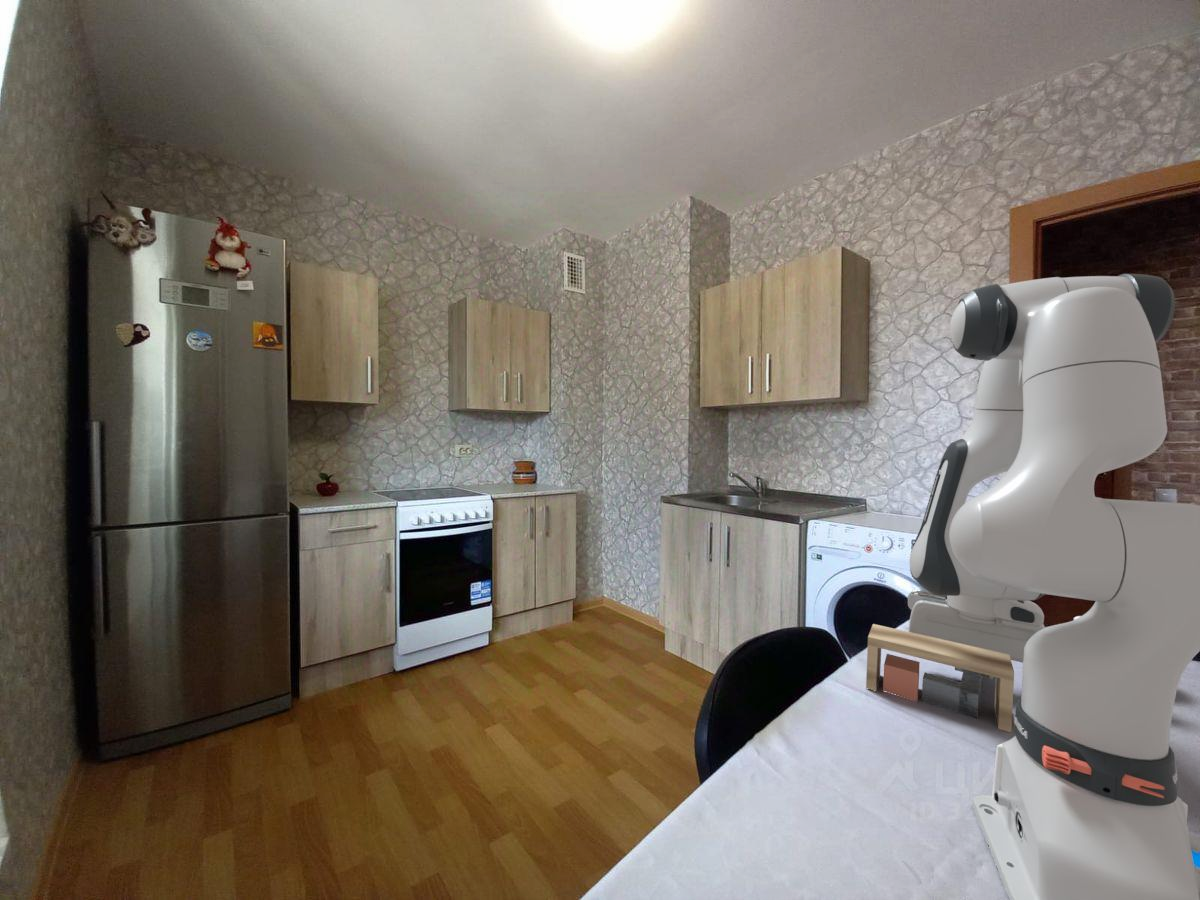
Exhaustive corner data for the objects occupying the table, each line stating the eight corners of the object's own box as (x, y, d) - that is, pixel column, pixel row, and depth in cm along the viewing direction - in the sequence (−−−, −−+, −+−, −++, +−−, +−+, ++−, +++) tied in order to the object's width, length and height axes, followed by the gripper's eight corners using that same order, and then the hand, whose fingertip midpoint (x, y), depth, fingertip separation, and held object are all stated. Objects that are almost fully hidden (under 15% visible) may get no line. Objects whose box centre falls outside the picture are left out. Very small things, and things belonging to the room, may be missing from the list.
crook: (977, 718, 75) (978, 694, 74) (921, 700, 80) (922, 677, 79) (983, 668, 91) (984, 648, 90) (936, 655, 96) (937, 636, 95)
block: (917, 702, 79) (918, 673, 79) (882, 691, 82) (884, 664, 82) (918, 689, 83) (919, 661, 83) (885, 679, 86) (886, 653, 86)
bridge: (1011, 732, 71) (1014, 672, 71) (866, 688, 83) (868, 636, 82) (1006, 710, 77) (1009, 654, 76) (871, 672, 89) (873, 623, 88)
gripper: (907, 591, 88) (904, 662, 89) (1056, 618, 76) (1052, 701, 76) (909, 583, 93) (906, 650, 94) (1050, 607, 81) (1046, 684, 81)
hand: (973, 673), depth 85 cm, fingers open, 3 cm apart
